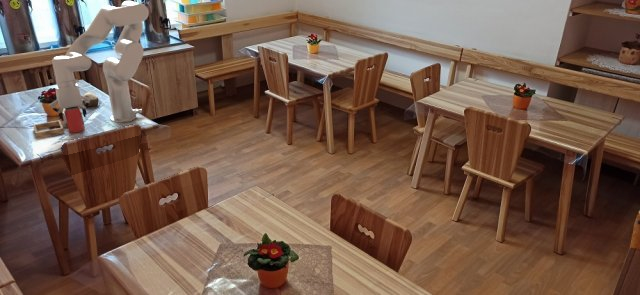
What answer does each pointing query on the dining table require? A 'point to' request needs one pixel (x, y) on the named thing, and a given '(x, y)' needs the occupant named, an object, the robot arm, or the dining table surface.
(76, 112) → the beer can
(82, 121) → the brown square pot
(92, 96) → the skull
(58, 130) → the tray
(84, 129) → the coaster
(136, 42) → the robot arm
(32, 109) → the dining table surface
